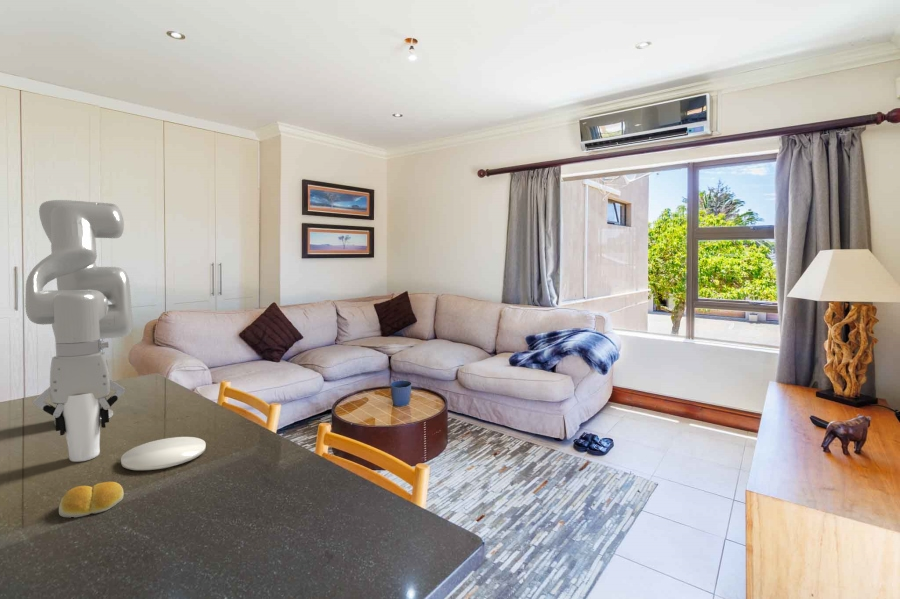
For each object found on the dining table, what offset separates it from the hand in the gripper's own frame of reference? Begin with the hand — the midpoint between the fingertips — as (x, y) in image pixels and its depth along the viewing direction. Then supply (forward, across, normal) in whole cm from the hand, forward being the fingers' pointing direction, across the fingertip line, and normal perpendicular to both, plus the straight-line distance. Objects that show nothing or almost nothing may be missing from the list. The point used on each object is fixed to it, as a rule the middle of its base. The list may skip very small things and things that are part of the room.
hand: (83, 429), depth 100 cm
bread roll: (+7, -1, +26) cm, 27 cm away
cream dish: (+7, -14, +10) cm, 18 cm away
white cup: (+7, 0, 0) cm, 7 cm away
